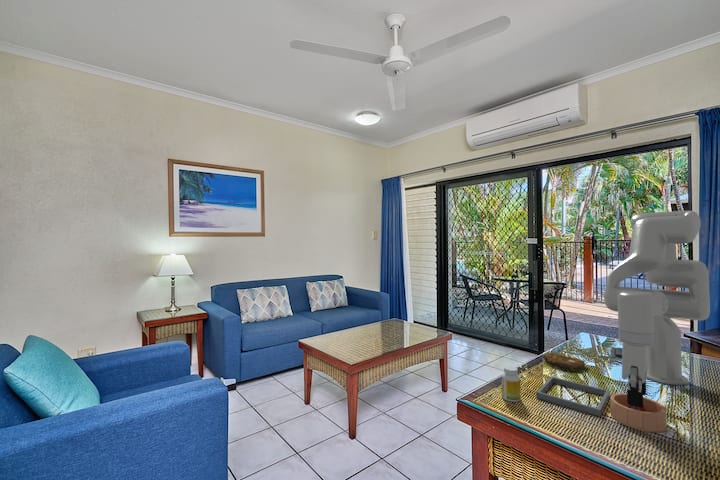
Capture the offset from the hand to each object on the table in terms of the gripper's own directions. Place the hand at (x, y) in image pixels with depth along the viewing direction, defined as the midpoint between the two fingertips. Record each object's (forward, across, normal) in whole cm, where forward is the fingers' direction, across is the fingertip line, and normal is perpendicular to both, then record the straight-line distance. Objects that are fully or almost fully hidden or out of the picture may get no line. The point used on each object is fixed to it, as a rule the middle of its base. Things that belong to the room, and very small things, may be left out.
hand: (637, 399), depth 91 cm
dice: (+5, 0, 0) cm, 5 cm away
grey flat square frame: (+6, -4, -16) cm, 17 cm away
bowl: (+6, 0, 0) cm, 6 cm away
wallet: (+7, -65, -4) cm, 65 cm away
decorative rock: (+6, -32, -26) cm, 42 cm away
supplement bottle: (+6, +10, -30) cm, 32 cm away
